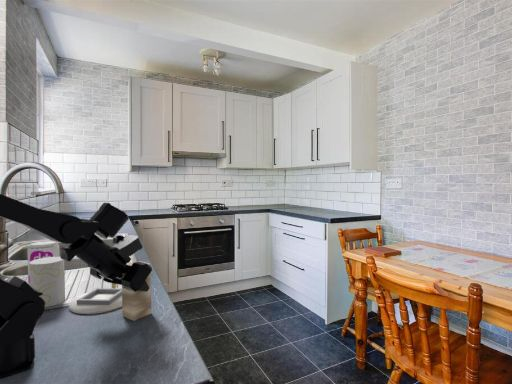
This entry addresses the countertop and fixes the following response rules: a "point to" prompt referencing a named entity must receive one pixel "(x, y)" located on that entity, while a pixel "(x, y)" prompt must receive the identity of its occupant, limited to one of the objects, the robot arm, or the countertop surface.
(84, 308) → the locating plate
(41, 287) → the cup
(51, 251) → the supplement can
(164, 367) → the countertop surface
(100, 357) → the countertop surface
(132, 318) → the birch block
